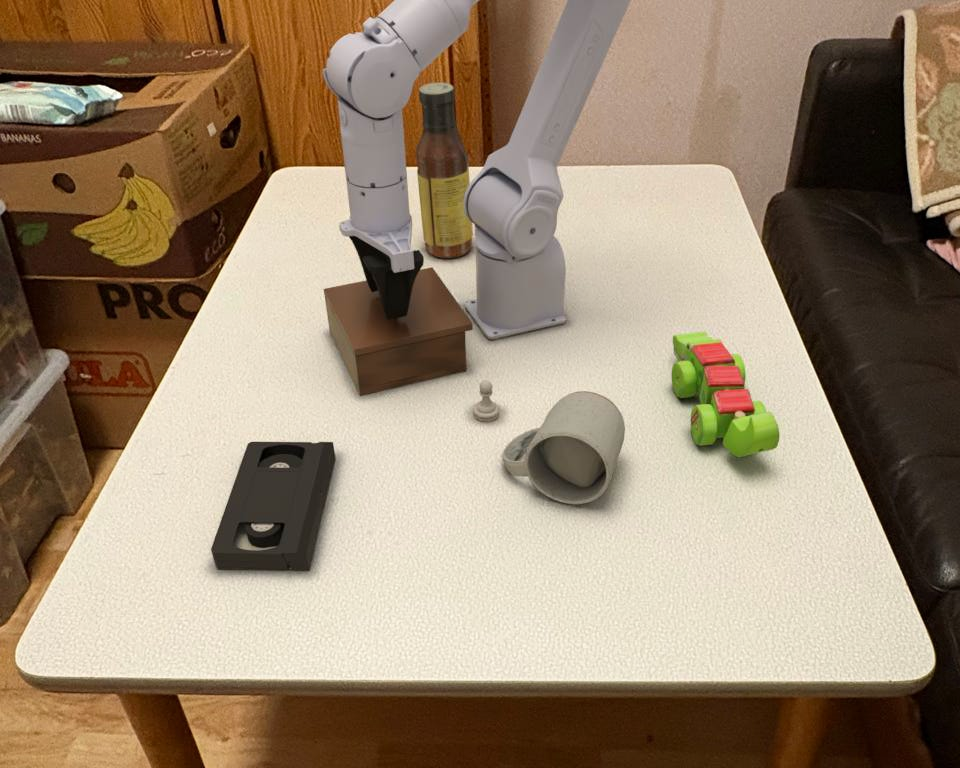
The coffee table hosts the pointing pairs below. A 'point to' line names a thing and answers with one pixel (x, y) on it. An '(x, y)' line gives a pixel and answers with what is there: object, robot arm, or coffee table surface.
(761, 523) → the coffee table surface
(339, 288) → the lid
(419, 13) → the robot arm
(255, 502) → the vhs tape
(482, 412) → the pawn
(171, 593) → the coffee table surface
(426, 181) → the sauce bottle
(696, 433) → the toy crocodile
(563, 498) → the ceramic mug
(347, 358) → the box
